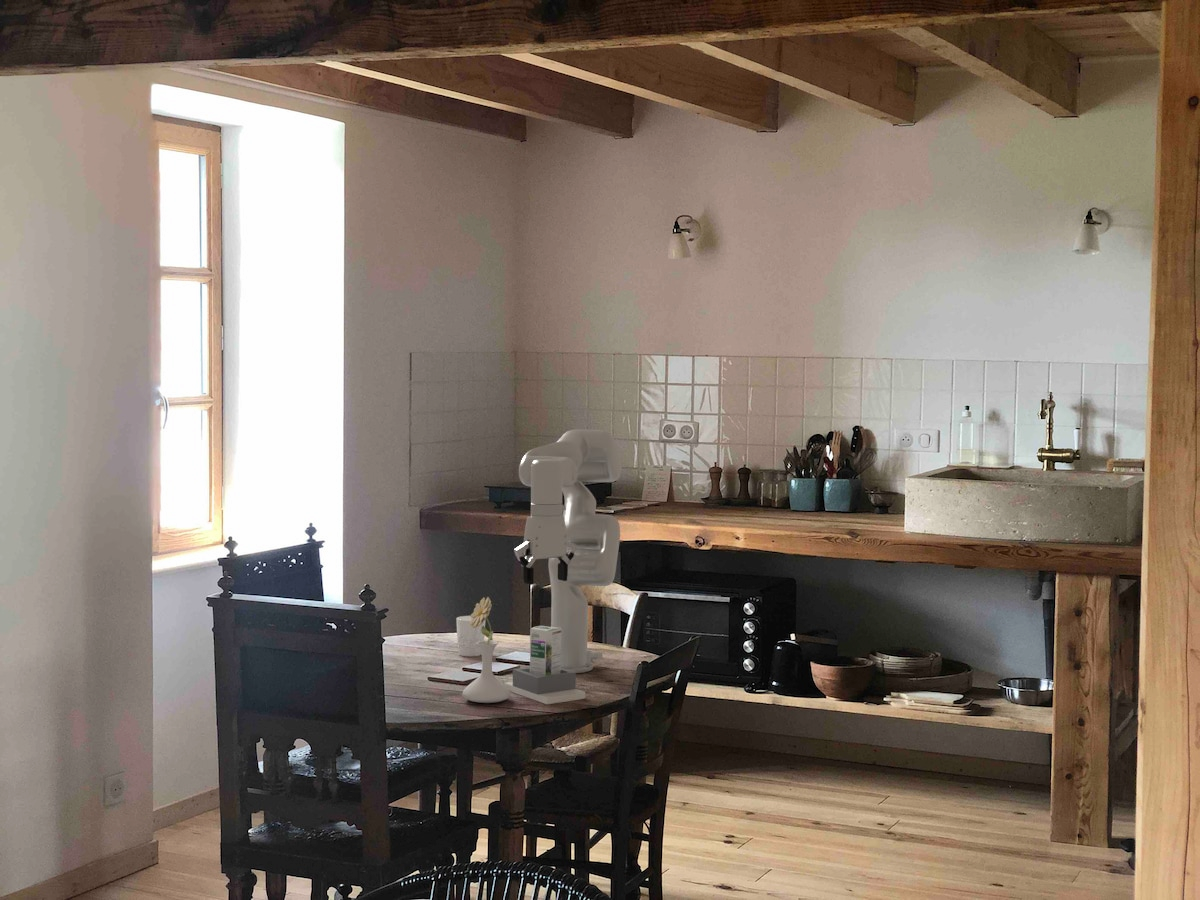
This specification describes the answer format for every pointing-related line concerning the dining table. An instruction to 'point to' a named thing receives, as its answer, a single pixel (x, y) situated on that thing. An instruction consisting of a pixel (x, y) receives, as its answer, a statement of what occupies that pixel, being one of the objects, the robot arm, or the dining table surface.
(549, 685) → the socket caddy
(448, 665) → the dining table surface
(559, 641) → the syrup box
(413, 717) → the dining table surface
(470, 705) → the dining table surface
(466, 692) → the flower in vase
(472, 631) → the white cup
